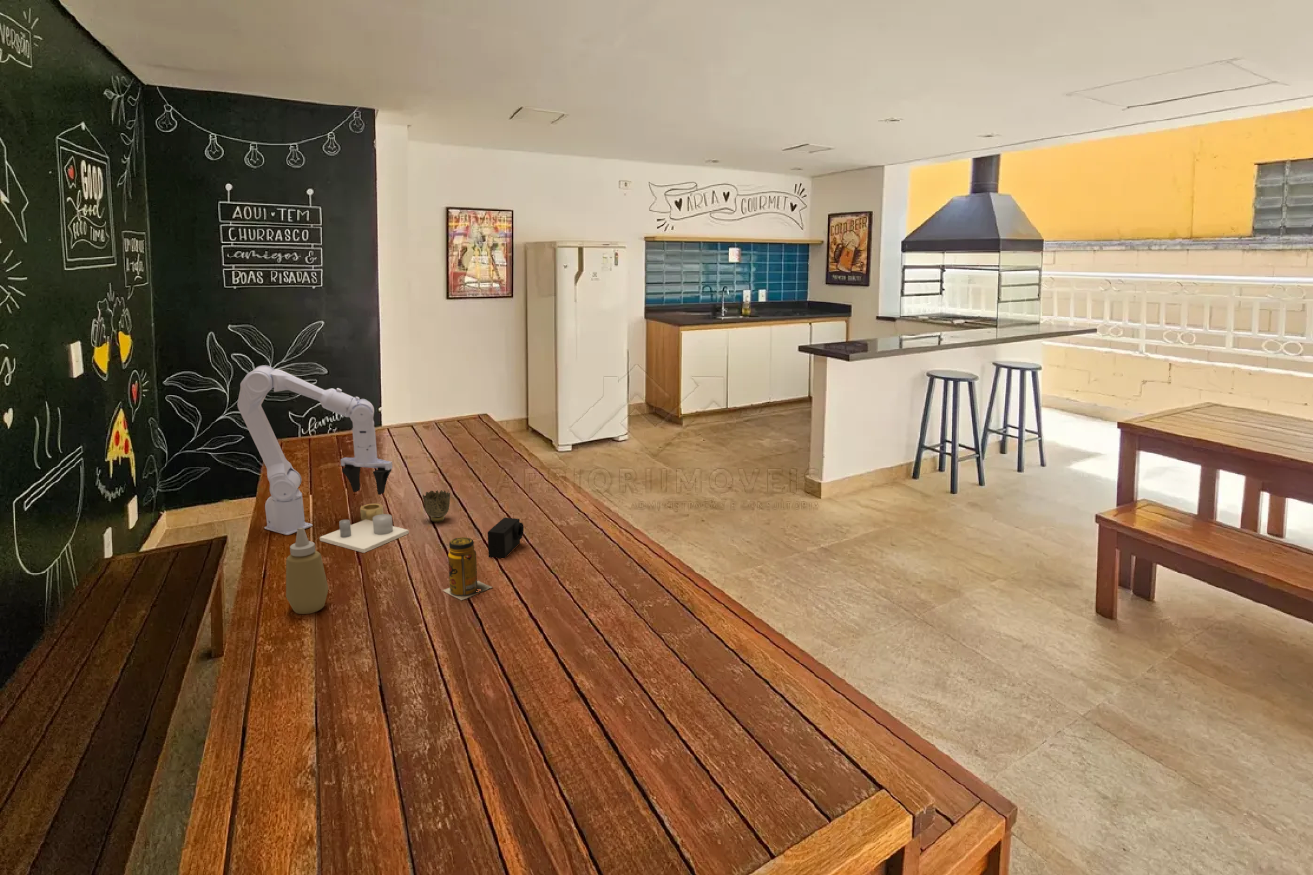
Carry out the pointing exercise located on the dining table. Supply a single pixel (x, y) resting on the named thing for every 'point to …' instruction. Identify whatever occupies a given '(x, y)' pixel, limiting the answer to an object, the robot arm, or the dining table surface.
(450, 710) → the dining table surface
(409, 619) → the dining table surface
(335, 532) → the stub board
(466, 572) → the condiment
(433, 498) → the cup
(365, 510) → the ring
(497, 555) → the digital camera
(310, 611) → the squeeze bottle
